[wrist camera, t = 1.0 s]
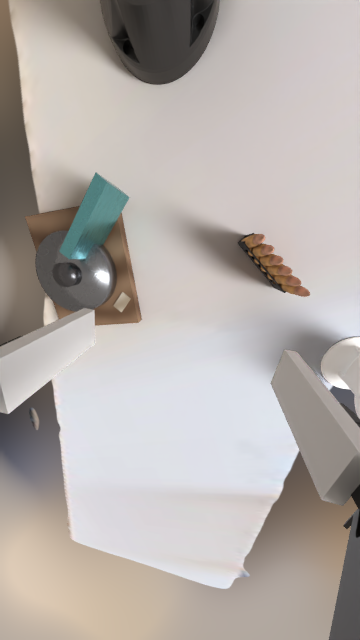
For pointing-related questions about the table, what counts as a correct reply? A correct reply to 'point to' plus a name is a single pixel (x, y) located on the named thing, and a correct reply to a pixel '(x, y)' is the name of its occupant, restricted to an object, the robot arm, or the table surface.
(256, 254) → the ammunition clip
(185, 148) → the table surface
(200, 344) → the table surface
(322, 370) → the panda figurine
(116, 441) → the table surface
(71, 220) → the stand
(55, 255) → the dial
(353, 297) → the table surface
